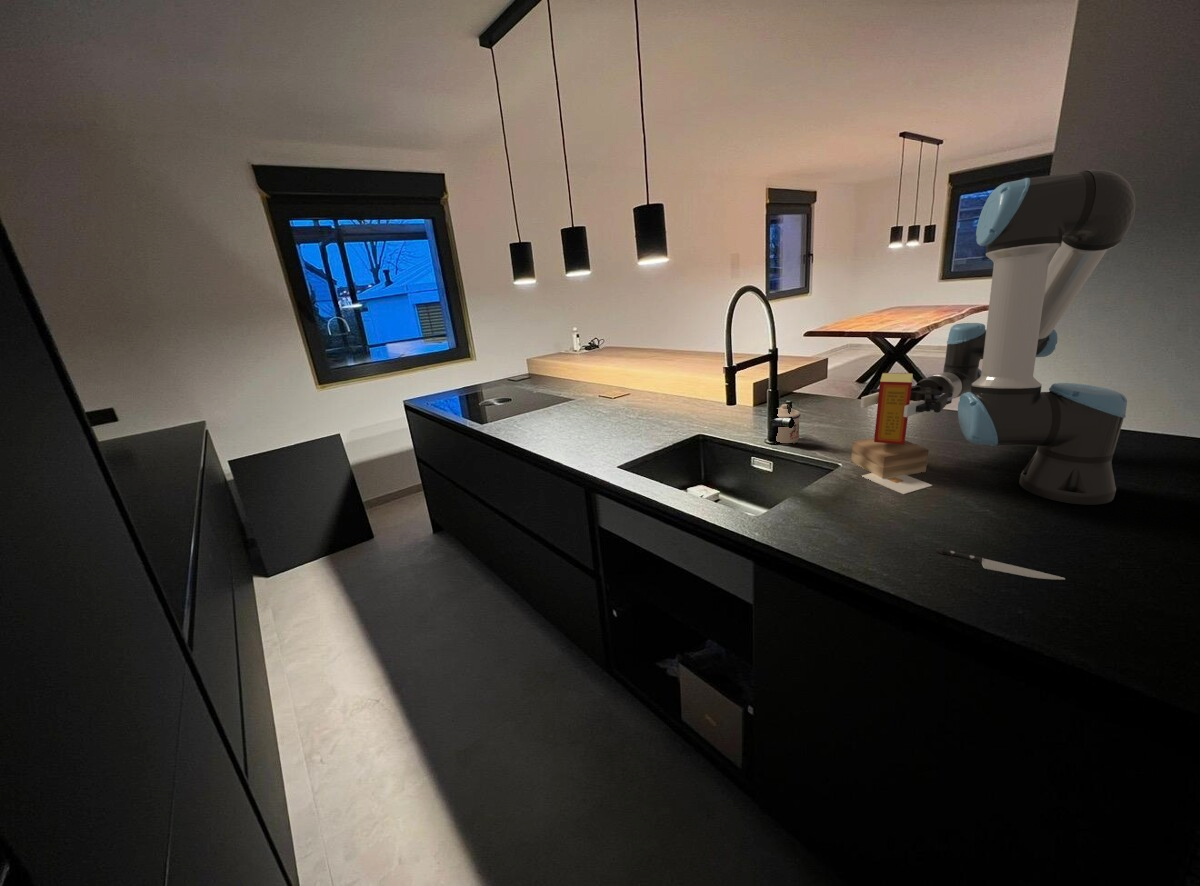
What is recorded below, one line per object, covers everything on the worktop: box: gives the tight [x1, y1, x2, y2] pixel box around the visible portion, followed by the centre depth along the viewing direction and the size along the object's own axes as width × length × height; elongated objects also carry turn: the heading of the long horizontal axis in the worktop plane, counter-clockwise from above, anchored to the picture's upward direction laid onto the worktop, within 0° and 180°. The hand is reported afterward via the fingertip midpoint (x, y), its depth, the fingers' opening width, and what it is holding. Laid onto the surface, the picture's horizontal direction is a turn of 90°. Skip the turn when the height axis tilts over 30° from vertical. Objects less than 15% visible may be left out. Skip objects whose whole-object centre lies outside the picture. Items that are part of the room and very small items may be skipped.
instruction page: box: [861, 472, 933, 495], centre depth 116 cm, size 12×9×1 cm
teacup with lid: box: [776, 403, 801, 443], centre depth 149 cm, size 12×9×12 cm
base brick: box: [850, 437, 930, 478], centre depth 123 cm, size 12×12×6 cm
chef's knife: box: [935, 547, 1066, 580], centre depth 82 cm, size 19×1×3 cm
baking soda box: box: [873, 372, 914, 445], centre depth 119 cm, size 10×6×16 cm
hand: (883, 406), depth 117 cm, fingers closed on baking soda box, 10 cm apart
